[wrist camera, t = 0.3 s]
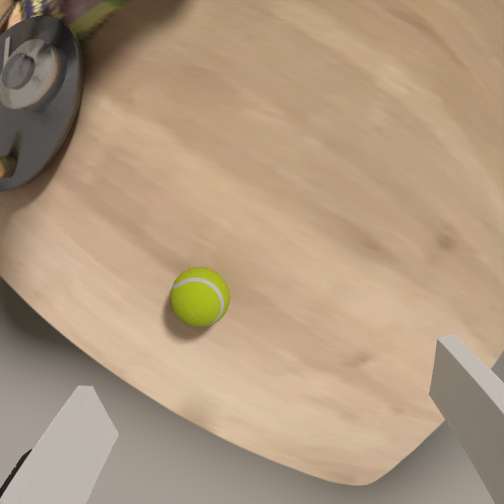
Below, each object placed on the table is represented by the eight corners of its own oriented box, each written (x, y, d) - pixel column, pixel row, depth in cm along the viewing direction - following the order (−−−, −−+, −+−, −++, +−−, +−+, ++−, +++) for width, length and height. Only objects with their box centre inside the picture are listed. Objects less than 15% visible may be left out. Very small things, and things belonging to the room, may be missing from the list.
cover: (17, 64, 27) (-8, 56, 22) (67, 36, 27) (43, 22, 21) (17, 121, 29) (-10, 118, 24) (68, 96, 29) (41, 87, 23)
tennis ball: (213, 250, 37) (203, 266, 30) (242, 296, 38) (239, 321, 32) (168, 277, 38) (150, 297, 31) (197, 320, 39) (186, 347, 33)
